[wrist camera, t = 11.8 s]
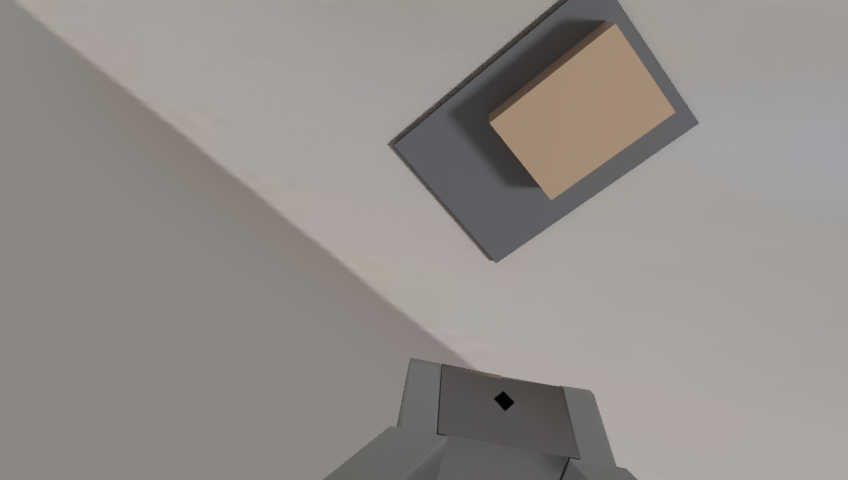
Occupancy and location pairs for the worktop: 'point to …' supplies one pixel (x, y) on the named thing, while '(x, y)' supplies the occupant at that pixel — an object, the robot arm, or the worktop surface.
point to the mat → (495, 162)
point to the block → (581, 110)
